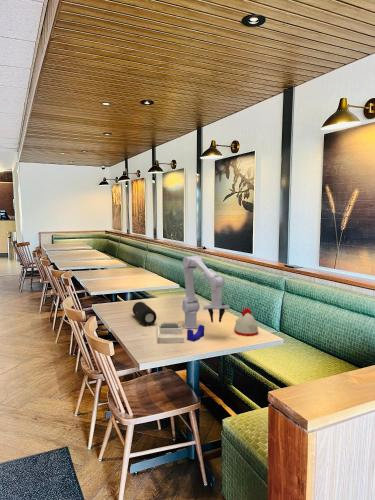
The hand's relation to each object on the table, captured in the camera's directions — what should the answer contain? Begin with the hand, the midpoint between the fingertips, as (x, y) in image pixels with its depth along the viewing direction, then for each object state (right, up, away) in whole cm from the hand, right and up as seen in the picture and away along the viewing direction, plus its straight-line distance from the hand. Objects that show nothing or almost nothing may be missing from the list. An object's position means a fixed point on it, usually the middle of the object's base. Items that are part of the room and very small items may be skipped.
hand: (215, 321), depth 203 cm
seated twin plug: (-27, -8, +10) cm, 29 cm away
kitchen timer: (+19, -9, +12) cm, 24 cm away
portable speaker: (-44, -6, +32) cm, 55 cm away
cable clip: (-11, -10, +1) cm, 14 cm away
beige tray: (-26, -9, +2) cm, 27 cm away
